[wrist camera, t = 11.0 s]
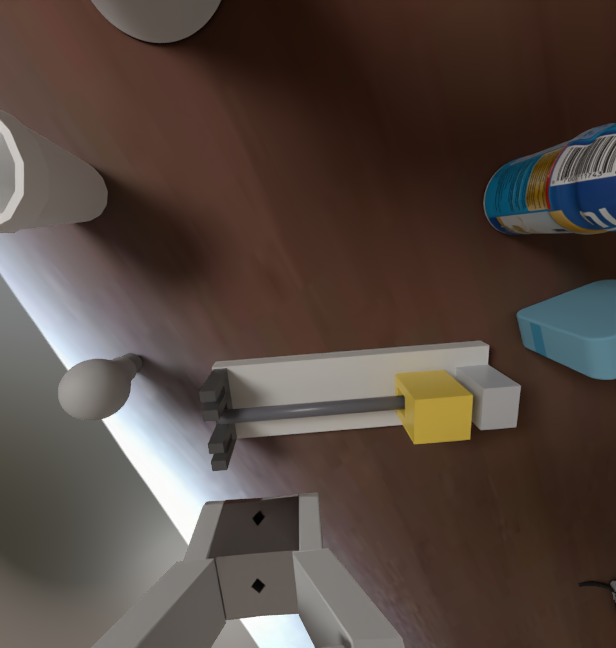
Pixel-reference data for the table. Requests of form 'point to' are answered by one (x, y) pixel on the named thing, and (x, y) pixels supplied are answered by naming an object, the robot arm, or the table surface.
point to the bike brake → (614, 586)
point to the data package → (575, 329)
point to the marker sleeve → (434, 407)
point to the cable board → (342, 392)
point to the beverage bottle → (558, 188)
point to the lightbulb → (98, 386)
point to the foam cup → (43, 181)
